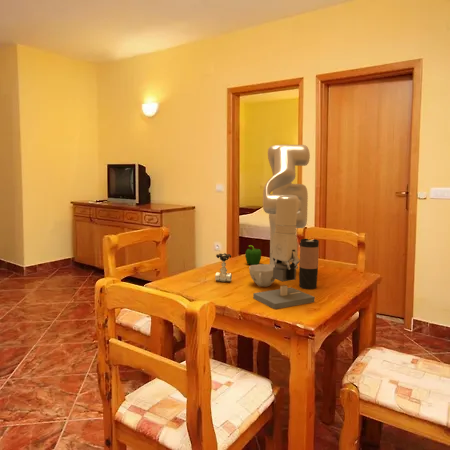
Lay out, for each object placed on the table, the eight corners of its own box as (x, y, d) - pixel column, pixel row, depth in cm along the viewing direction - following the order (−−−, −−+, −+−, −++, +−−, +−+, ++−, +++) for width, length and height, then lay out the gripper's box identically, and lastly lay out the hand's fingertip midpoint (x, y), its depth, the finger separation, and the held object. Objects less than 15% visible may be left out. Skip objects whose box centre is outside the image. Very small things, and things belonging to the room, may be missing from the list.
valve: (229, 284, 176) (229, 256, 174) (214, 283, 177) (214, 256, 176) (232, 280, 182) (232, 253, 181) (217, 279, 184) (218, 253, 182)
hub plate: (291, 292, 165) (291, 278, 164) (314, 302, 153) (315, 287, 152) (253, 298, 157) (253, 284, 156) (274, 309, 144) (275, 294, 144)
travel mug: (306, 290, 168) (308, 242, 165) (294, 285, 175) (296, 239, 172) (321, 288, 171) (323, 240, 169) (309, 283, 178) (311, 238, 176)
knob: (282, 281, 149) (282, 266, 148) (271, 277, 155) (272, 262, 154) (296, 279, 152) (297, 264, 151) (286, 276, 158) (286, 261, 157)
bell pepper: (264, 264, 215) (264, 245, 213) (255, 266, 208) (256, 247, 207) (251, 261, 220) (251, 243, 219) (242, 264, 213) (242, 245, 212)
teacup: (252, 280, 183) (252, 262, 182) (280, 282, 180) (281, 264, 178) (244, 289, 169) (244, 270, 168) (274, 292, 165) (274, 272, 164)
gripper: (264, 227, 157) (262, 273, 159) (292, 233, 142) (290, 283, 144) (280, 226, 161) (278, 271, 163) (309, 232, 145) (307, 281, 148)
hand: (284, 276), depth 153 cm, fingers closed on knob, 6 cm apart
